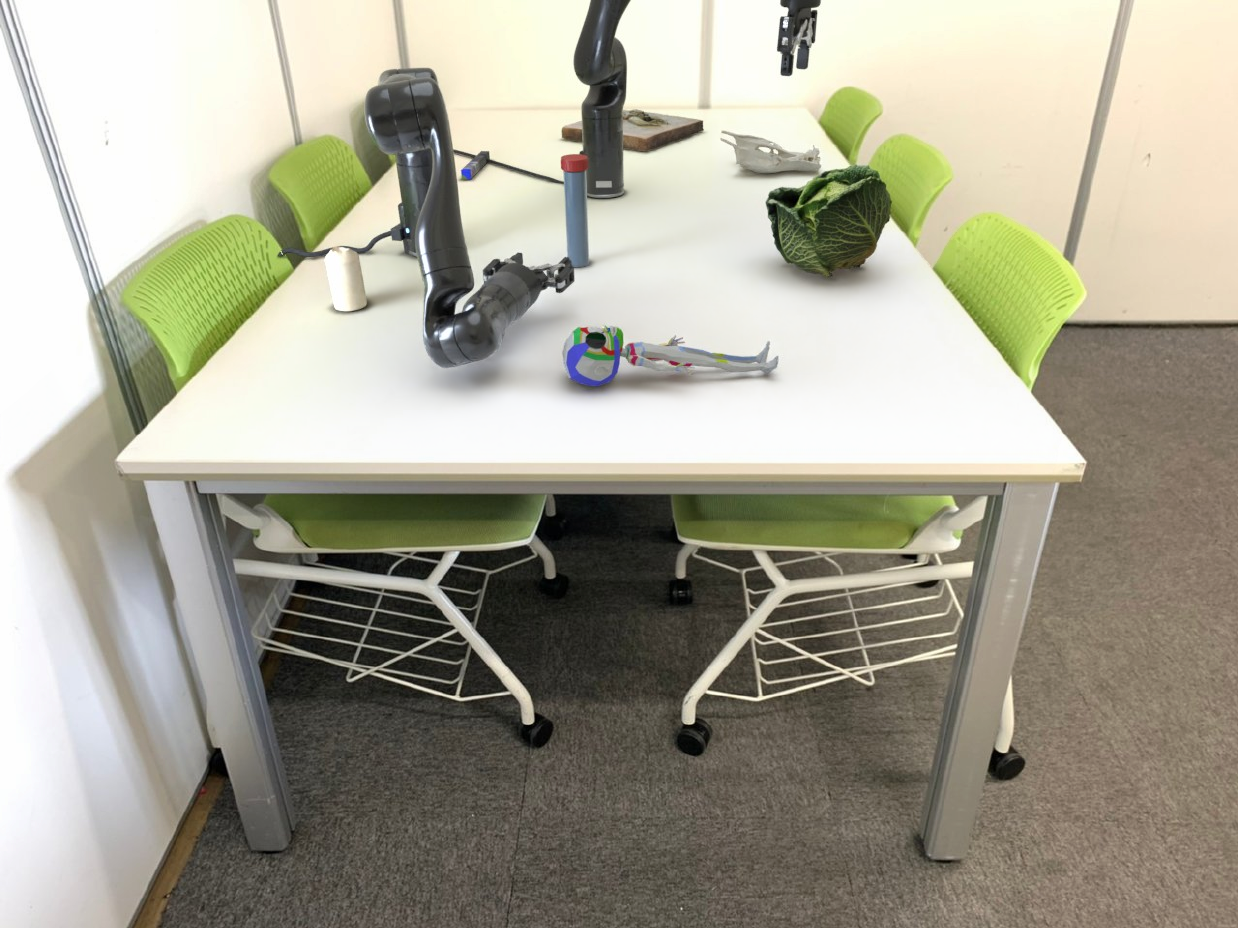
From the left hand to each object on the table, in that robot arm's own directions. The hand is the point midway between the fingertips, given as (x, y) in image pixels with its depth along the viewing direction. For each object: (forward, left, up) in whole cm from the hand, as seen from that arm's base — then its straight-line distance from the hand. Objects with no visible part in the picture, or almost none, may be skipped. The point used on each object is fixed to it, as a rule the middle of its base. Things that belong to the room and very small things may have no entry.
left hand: (544, 260), depth 152 cm
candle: (-31, -13, -7) cm, 34 cm away
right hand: (+33, +54, +22) cm, 67 cm away
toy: (+28, -24, -7) cm, 38 cm away
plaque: (-19, +123, -7) cm, 124 cm away
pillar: (-48, +77, -7) cm, 90 cm away
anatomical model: (+25, +92, -7) cm, 96 cm away
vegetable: (+45, +25, -7) cm, 52 cm away
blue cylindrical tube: (0, +17, -7) cm, 18 cm away
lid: (0, +17, +13) cm, 21 cm away
